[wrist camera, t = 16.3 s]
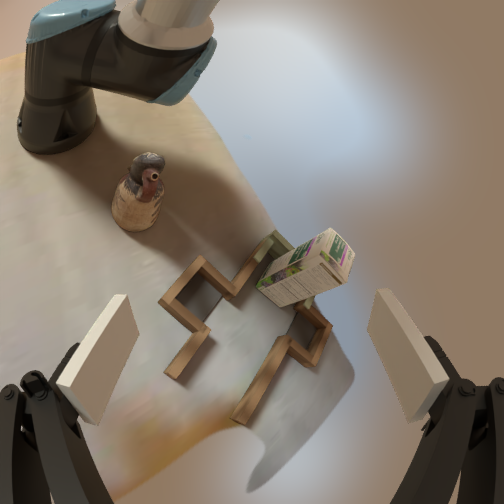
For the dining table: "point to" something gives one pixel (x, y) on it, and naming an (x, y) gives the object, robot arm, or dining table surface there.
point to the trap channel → (216, 285)
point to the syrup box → (308, 269)
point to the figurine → (139, 193)
